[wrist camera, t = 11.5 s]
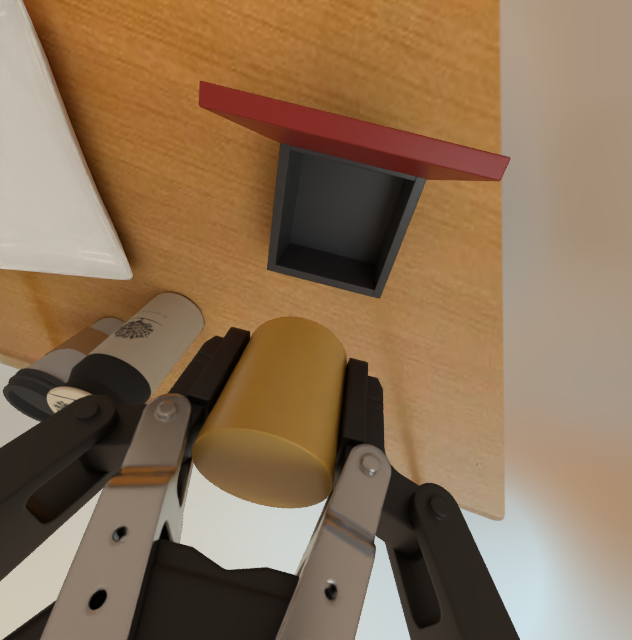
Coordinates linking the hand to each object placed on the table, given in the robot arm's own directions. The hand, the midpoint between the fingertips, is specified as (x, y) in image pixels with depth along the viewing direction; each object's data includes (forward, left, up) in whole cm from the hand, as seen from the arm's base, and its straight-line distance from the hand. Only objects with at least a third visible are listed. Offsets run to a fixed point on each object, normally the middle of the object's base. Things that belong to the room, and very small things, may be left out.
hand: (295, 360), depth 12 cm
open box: (0, 0, -24) cm, 24 cm away
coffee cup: (+41, +7, -24) cm, 48 cm away
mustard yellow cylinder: (0, 0, 0) cm, 0 cm away
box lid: (-3, -5, -10) cm, 12 cm away
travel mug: (+28, +7, -24) cm, 37 cm away
